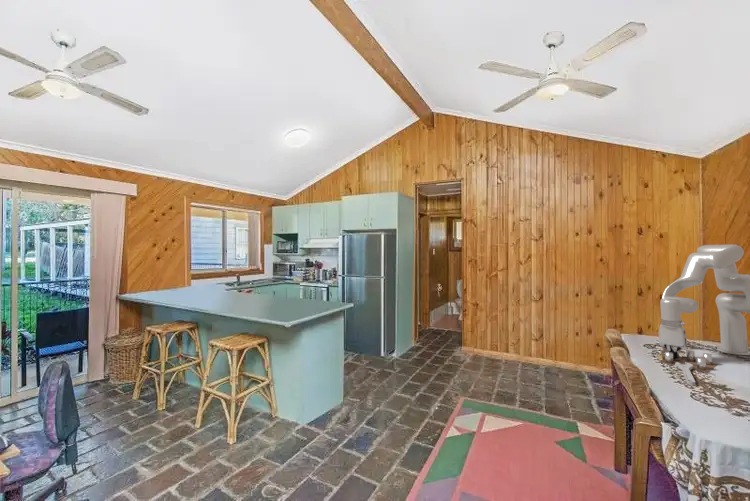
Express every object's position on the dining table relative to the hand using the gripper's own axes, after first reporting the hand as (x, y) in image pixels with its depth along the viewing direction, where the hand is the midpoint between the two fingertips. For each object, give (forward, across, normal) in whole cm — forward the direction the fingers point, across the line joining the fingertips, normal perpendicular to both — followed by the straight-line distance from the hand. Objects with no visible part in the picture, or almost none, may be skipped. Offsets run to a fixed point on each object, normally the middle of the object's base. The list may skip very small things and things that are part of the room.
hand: (673, 358), depth 161 cm
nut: (+1, +4, 0) cm, 4 cm away
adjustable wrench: (+1, -8, +17) cm, 19 cm away
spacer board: (+1, -5, 0) cm, 5 cm away
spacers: (+1, -5, 0) cm, 5 cm away
